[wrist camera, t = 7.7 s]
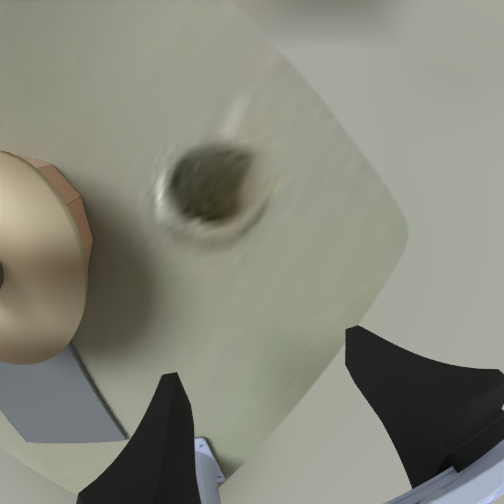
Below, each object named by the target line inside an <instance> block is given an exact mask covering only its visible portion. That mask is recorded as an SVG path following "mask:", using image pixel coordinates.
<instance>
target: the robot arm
mask: <svg viewBox="0 0 504 504" xmlns="http://www.w3.org/2000/svg"><path fill="white" fill-rule="evenodd" d="M345 365H346V367H347V369H348V371H349V373H350V375H351V377H352V379H353V380H354V382H355V384H356V385H357V387H358V388H359V390H360V391H361V392H362V394H363V396H364V397H365V398H366V400H367V401H368V403H369V404H370V405H371V407H372V408H373V410H374V411H375V412H376V414H377V415H378V417H379V418H380V420H381V421H382V423H383V425H384V426H385V429H386V430H387V432H388V434H389V436H390V438H391V440H392V442H393V444H394V446H395V448H396V450H397V452H398V455H399V457H400V459H401V461H402V464H403V466H404V468H405V471H406V473H407V476H408V478H409V481H410V484H411V486H412V490H410V491H409V492H407V493H404V494H403V495H401V496H399V497H396V498H394V499H392V500H390V501H388V502H386V503H384V504H492V503H493V502H494V501H495V500H497V499H498V498H499V497H500V496H501V495H502V494H504V411H503V410H502V409H501V408H502V406H503V404H504V374H503V373H502V372H501V371H500V370H498V369H476V368H468V367H461V366H455V365H450V364H446V363H442V362H438V361H435V360H431V359H428V358H425V357H422V356H420V355H417V354H414V353H412V352H410V351H407V350H405V349H403V348H401V347H399V346H396V345H394V344H393V343H391V342H389V341H387V340H385V339H383V338H381V337H379V336H377V335H376V334H374V333H372V332H370V331H368V330H366V329H364V328H363V327H360V326H359V325H357V326H354V327H351V328H348V329H346V351H345ZM224 481H225V477H224V475H223V473H222V471H221V469H220V467H219V465H218V463H217V461H216V460H215V458H214V456H213V454H212V452H211V450H210V448H209V446H208V444H207V442H206V440H205V439H204V438H196V439H194V422H193V416H192V409H191V404H190V402H189V399H188V397H187V395H186V393H185V390H184V388H183V385H182V383H181V381H180V378H179V376H178V373H177V372H175V373H169V374H164V375H162V377H161V379H160V381H159V384H158V386H157V389H156V391H155V394H154V396H153V398H152V400H151V402H150V405H149V407H148V409H147V411H146V413H145V415H144V417H143V419H142V420H141V422H140V424H139V426H138V428H137V430H136V431H135V433H134V434H133V436H132V438H131V439H130V441H129V442H128V444H127V445H126V446H125V448H124V449H123V450H122V452H121V453H120V454H119V456H118V457H117V458H116V459H115V460H114V462H113V463H112V464H111V465H110V466H109V467H108V468H107V469H106V470H105V471H104V472H103V473H102V474H101V475H100V476H99V477H98V478H97V479H96V480H95V481H93V482H92V483H91V484H90V485H88V486H87V487H86V488H85V489H83V490H82V491H81V492H79V494H78V498H77V503H76V504H221V501H220V496H219V490H218V484H217V483H220V482H224Z"/></svg>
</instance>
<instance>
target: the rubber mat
mask: <svg viewBox="0 0 504 504" xmlns="http://www.w3.org/2000/svg"><path fill="white" fill-rule="evenodd" d="M0 410H1V411H2V413H3V414H4V415H5V416H6V418H7V419H8V420H9V422H10V423H11V424H12V425H13V427H14V428H15V429H16V430H17V431H18V433H19V434H20V435H21V436H22V437H23V438H24V440H25V441H26V442H38V443H87V442H108V441H122V440H126V435H125V434H124V432H123V431H122V429H121V428H120V426H119V425H118V423H117V422H116V420H115V419H114V417H113V416H112V414H111V413H110V411H109V410H108V408H107V407H106V405H105V403H104V402H103V400H102V399H101V397H100V395H99V394H98V392H97V390H96V389H95V387H94V385H93V384H92V382H91V380H90V379H89V377H88V375H87V373H86V371H85V370H84V368H83V366H82V364H81V362H80V361H79V359H78V357H77V355H76V353H75V351H74V349H73V347H72V345H71V343H70V342H69V343H68V344H67V346H66V347H65V348H64V349H63V350H62V351H61V352H59V353H58V354H57V355H56V356H54V357H52V358H50V359H49V360H47V361H44V362H40V363H37V364H30V365H17V364H10V363H6V362H3V361H0Z"/></svg>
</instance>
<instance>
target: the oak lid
mask: <svg viewBox="0 0 504 504" xmlns="http://www.w3.org/2000/svg"><path fill="white" fill-rule="evenodd" d="M87 293H88V271H87V262H86V256H85V252H84V247H83V243H82V240H81V237H80V234H79V231H78V228H77V225H76V223H75V221H74V219H73V216H72V214H71V212H70V210H69V208H68V207H67V205H66V203H65V202H64V200H63V198H62V197H61V195H60V194H59V192H58V191H57V190H56V188H55V187H54V186H53V184H52V183H51V182H50V181H49V180H48V179H47V178H46V177H45V176H44V175H43V173H41V172H40V171H39V170H38V169H37V168H35V167H34V166H33V165H32V164H30V163H29V162H27V161H25V160H24V159H22V158H21V157H19V156H16V155H14V154H11V153H9V152H5V151H0V361H3V362H6V363H10V364H17V365H30V364H37V363H40V362H44V361H47V360H49V359H50V358H52V357H54V356H56V355H57V354H58V353H59V352H61V351H62V350H63V349H64V348H65V347H66V346H67V344H68V343H69V342H70V341H71V339H72V337H73V336H74V334H75V332H76V330H77V328H78V326H79V324H80V321H81V319H82V316H83V314H84V310H85V306H86V302H87Z"/></svg>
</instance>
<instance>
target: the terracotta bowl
mask: <svg viewBox="0 0 504 504" xmlns="http://www.w3.org/2000/svg"><path fill="white" fill-rule="evenodd" d="M16 156H19V155H16ZM19 157H21V158H22V159H24V160H25V161H27V162H29V163H30V164H32V165H33V166H34V167H35V168H37V169H38V170H39V171H40V172H41V173H43V175H44V176H45V177H46V178H47V179H48V180H49V181H50V182H51V183H52V184H53V186H54V187H55V188H56V190H57V191H58V192H59V194H60V195H61V197H62V198H63V200H64V202H65V203H66V205H67V207H68V208H69V210H70V212H71V214H72V216H73V219H74V221H75V223H76V225H77V228H78V231H79V234H80V237H81V240H82V243H83V247H84V252H85V256H86V262H87V271H88V265H89V260H90V254H91V249H92V244H93V237H92V234H91V231H90V227H89V224H88V220H87V217H86V213H85V209H84V206H83V202H82V198H81V197H80V195H79V193H78V192H77V191H76V190H75V189H74V188H73V187H72V186H71V185H70V183H69V182H68V181H67V180H66V179H65V178H64V177H63V176H62V174H61V173H60V172H59V171H58V170H57V169H56V168H55V166H54V165H52V164H49V163H46V162H42V161H38V160H34V159H31V158H27V157H23V156H19Z"/></svg>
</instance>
